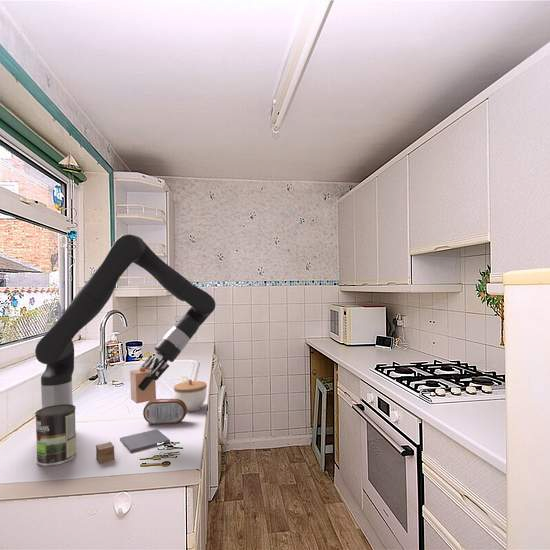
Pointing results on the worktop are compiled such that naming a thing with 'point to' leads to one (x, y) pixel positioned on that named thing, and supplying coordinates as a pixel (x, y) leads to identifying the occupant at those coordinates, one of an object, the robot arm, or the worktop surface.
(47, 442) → the coffee can
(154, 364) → the robot arm
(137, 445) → the plate
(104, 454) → the block
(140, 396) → the tan upright box
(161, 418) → the tin
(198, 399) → the lidded bowl
